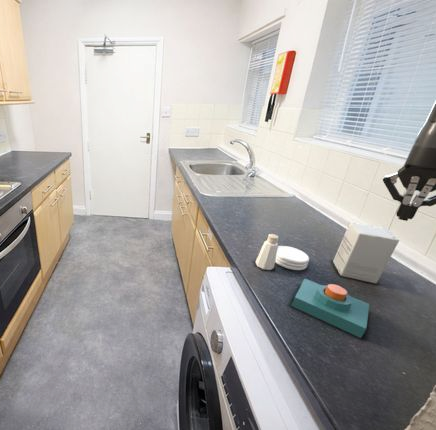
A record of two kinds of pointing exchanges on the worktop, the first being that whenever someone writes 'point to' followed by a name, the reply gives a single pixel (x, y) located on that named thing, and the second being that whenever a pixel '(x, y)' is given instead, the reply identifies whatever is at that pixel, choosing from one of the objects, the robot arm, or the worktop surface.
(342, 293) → the orange button cap
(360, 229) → the rectangular carton
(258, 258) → the pepper shaker
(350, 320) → the button base
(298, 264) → the white round stack
